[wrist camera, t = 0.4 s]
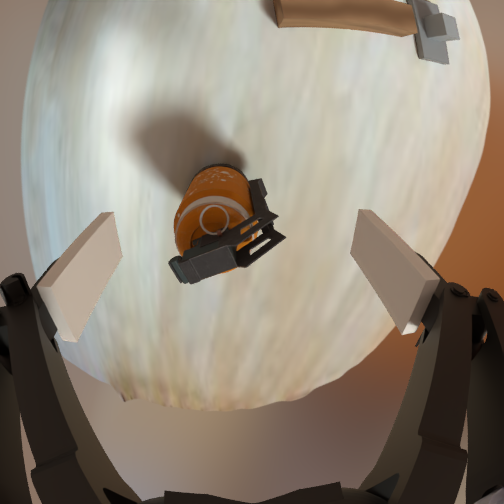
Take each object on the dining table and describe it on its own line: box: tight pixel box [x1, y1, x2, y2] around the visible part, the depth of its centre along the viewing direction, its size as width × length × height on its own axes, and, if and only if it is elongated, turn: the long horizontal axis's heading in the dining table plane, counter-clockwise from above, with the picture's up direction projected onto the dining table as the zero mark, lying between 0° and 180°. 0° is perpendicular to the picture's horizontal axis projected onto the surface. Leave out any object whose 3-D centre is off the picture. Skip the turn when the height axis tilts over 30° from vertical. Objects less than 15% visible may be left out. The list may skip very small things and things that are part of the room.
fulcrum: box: [407, 0, 460, 64], centre depth 24 cm, size 12×6×7 cm, turn 8°
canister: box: [168, 164, 286, 284], centre depth 31 cm, size 9×11×20 cm
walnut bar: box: [273, 0, 418, 37], centre depth 25 cm, size 5×20×5 cm, turn 98°
